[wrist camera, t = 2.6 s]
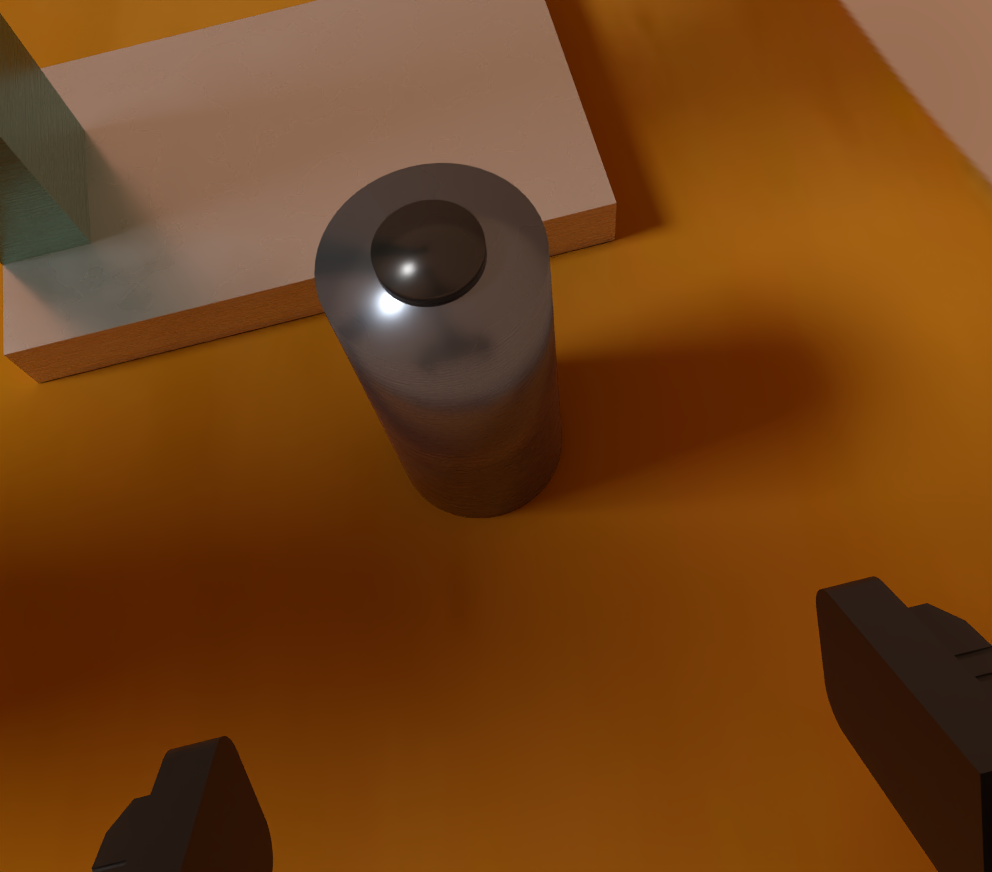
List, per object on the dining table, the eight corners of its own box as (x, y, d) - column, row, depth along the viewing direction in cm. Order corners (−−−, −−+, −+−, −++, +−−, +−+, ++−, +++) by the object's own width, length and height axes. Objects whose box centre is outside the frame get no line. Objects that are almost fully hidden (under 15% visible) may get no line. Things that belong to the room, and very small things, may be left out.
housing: (418, 535, 27) (328, 380, 18) (388, 390, 29) (294, 182, 20) (580, 494, 27) (576, 318, 18) (539, 353, 29) (516, 126, 20)
